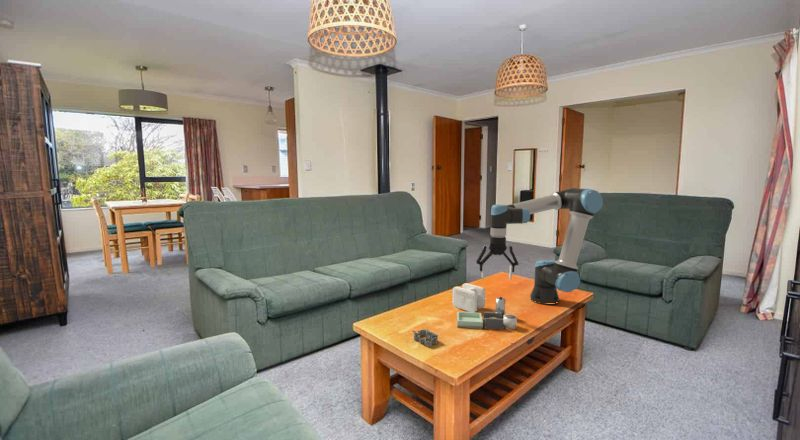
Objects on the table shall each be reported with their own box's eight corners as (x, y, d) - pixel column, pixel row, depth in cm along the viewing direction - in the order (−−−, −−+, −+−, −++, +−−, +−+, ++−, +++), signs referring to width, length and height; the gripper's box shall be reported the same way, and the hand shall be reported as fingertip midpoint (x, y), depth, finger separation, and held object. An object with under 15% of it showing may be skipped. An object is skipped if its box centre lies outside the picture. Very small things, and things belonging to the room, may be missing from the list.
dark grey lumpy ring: (411, 339, 159) (411, 330, 158) (424, 334, 163) (424, 325, 163) (427, 348, 150) (427, 339, 150) (440, 343, 155) (440, 334, 154)
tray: (480, 318, 181) (480, 312, 180) (482, 328, 169) (482, 322, 169) (456, 317, 182) (457, 311, 182) (457, 326, 171) (457, 320, 171)
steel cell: (503, 315, 185) (504, 296, 184) (505, 318, 181) (506, 299, 180) (494, 314, 186) (495, 295, 185) (495, 318, 182) (496, 298, 180)
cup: (515, 324, 174) (515, 314, 173) (517, 330, 168) (518, 319, 167) (502, 323, 175) (502, 313, 174) (504, 329, 169) (504, 318, 168)
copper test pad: (496, 318, 175) (496, 316, 174) (497, 322, 171) (497, 319, 171) (488, 318, 175) (489, 316, 175) (489, 321, 171) (489, 319, 171)
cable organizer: (486, 310, 192) (487, 288, 191) (474, 315, 185) (474, 292, 184) (463, 302, 203) (464, 282, 202) (451, 307, 196) (451, 286, 195)
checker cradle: (500, 321, 177) (500, 311, 177) (503, 329, 168) (503, 319, 168) (483, 320, 178) (483, 310, 178) (485, 328, 169) (485, 318, 169)
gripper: (522, 235, 182) (520, 276, 185) (471, 234, 185) (470, 275, 188) (526, 238, 175) (523, 281, 178) (473, 236, 178) (471, 279, 180)
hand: (496, 278), depth 183 cm, fingers open, 13 cm apart
